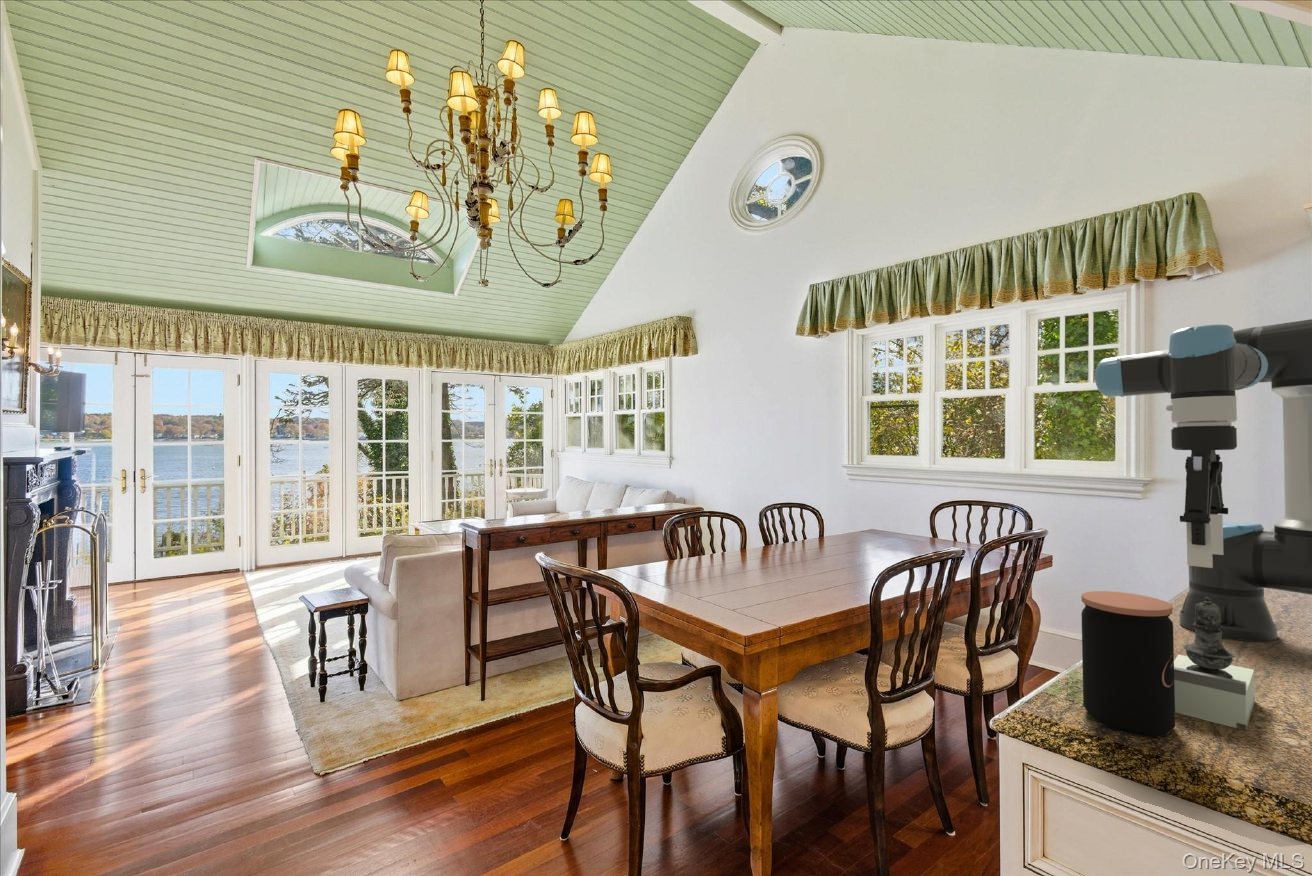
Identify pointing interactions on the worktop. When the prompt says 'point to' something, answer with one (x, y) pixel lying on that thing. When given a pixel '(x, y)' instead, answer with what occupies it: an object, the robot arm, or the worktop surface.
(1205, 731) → the worktop surface
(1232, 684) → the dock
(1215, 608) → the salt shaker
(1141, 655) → the coffee jar
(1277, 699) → the worktop surface
